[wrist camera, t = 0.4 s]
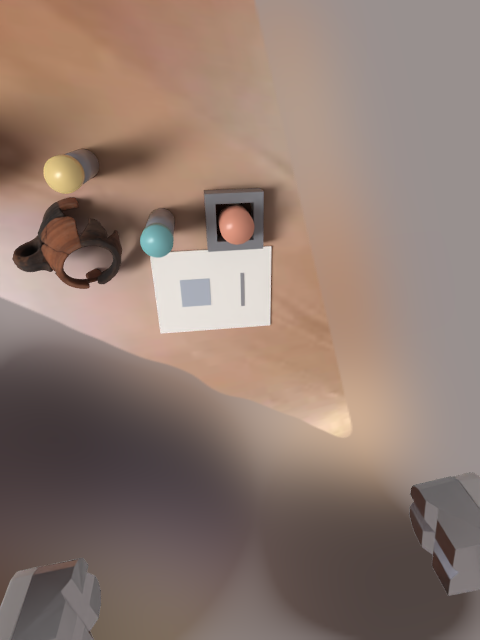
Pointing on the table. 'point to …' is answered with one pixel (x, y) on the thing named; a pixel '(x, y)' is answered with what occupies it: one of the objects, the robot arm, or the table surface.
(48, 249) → the pottery mug
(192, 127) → the table surface
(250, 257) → the paper
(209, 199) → the button housing
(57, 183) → the marker ochre
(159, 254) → the marker teal
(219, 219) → the button
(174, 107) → the table surface
